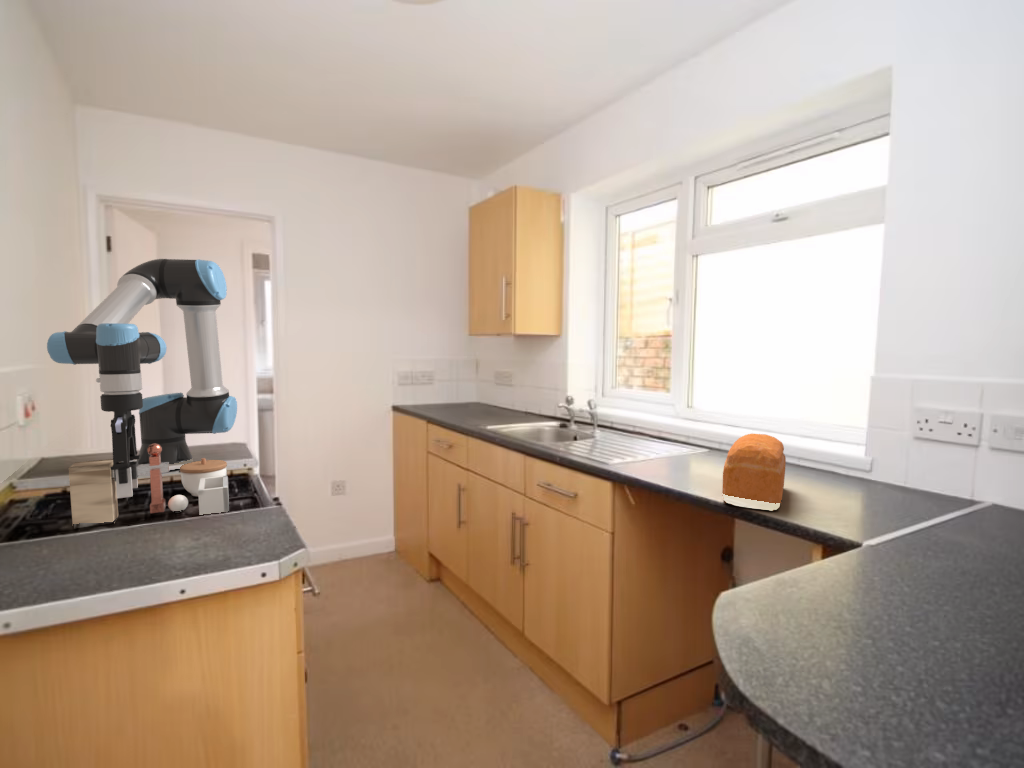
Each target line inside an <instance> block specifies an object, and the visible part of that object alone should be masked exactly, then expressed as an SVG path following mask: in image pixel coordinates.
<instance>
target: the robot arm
mask: <svg viewBox="0 0 1024 768" xmlns="http://www.w3.org/2000/svg"><path fill="white" fill-rule="evenodd" d="M116 286H117V287H116V288H114V290H112V291H111V293H110V294H109V295H108V296H106V298H105V299H103V300H102V302H100V303H99V304H98V305H97V306H96V307H95V308H94V309H93V310H92V311H91V312H90V313H89V314H88V315H87V316H86V317H85V318H84V319H83V320H82V321H81V322H80V323H79V324H78V325H77V326H76V327H74V328H73V330H72V331H66V330H63V331H57V332H54V333H51V334H50V336H49V338H48V340H47V343H46V349H47V350H46V351H47V353H48V355H49V358H50V359H51V360H52V361H53V362H54V363H57V364H62V365H63V364H64V365H65V364H66V365H68V364H69V365H73V366H74V365H98V374H99V377H97V378H96V379H95V382H96V383H100V384H99V390H100V392H101V393H103V394H101V395H100V409H101V411H103V412H106V413H108V412H110V413H111V412H113V417H112V419H110V429H111V441H112V443H111V445H112V459H113V467H111V470H115V472H116V487H117V499H123V498H131V497H132V498H133V495H134V494H133V489H138V488H139V487H138V486H139V485H138V483H139V482H138V478H137V479H133V480H132V475H131V467H130V462H134V461H138V465H141V464H150V460H149V457H150V456H151V455H150V454H149V453H148V452H147V448H148V447H149V446H150V445H151V444H159V445H160V446H161V447H162V451H161V453H160V456H161V463H162V462H169V464H174V463H179V462H183V461H187V460H190V459H192V458H193V459H194V457H193V455H192V453H191V450H190V448H189V445H188V443H187V441H186V435H199V434H212V435H213V434H221V433H222V434H224V433H228V432H229V431H230V430H232V428H233V427H234V424H235V422H236V418H237V414H238V413H237V412H238V401H237V398H236V397H235V396H232V395H230V392H229V389H228V388H227V387H225V386H224V384H223V375H222V365H221V364H222V363H221V355H220V354H221V352H220V343H219V342H220V341H219V332H218V322H217V321H218V320H217V319H218V318H217V312H216V311H217V310H218V309H219V308H220V307H221V305H222V304H221V301H222V300H225V299H226V297H227V290H228V288H227V287H228V286H227V280H226V278H225V275H224V272H223V270H222V269H221V267H220V265H219V264H217V263H216V262H215V261H212V260H205V259H182V258H181V259H178V258H177V259H175V258H171V259H170V258H157V259H152V260H151V259H150V260H148V261H145V262H142V263H140V264H139V265H138V264H137V265H136V266H134V267H133V268H131V269H130V270H128V271H127V272H126V273H124V274H122V276H121V277H120V278H119V279H118V280H117V283H116ZM160 299H170V300H171V299H175V303H176V306H177V307H178V308H179V309H180V310H182V313H183V321H184V331H185V339H186V341H185V342H186V350H187V359H188V369H189V378H190V387H191V388H190V389H189V390H188V391H187V392H186V396H185V395H184V393H183V392H172V393H166V394H161V395H159V394H158V395H153V396H148V397H144V398H143V394H142V393H141V392H140V391H141V390H143V382H142V371H141V365H142V364H147V365H148V364H149V365H151V364H153V363H156V362H159V361H161V360H162V359H163V358H164V357H165V355H166V353H167V344H166V342H165V340H164V339H163V338H162V337H161V336H160V335H158V334H156V333H154V332H153V333H152V332H148V331H145V332H144V331H143V332H139V328H138V326H137V325H136V324H134V323H130V322H132V320H133V319H134V317H136V315H137V314H138V313H140V311H141V310H142V309H143V307H144V306H147V305H149V304H153V302H154V301H155V300H160ZM137 410H138V415H139V428H140V438H141V439H140V443H141V446H140V449H139V452H138V450H137V449H138V448H137V438H136V427H135V426H136V416H135V414H132V411H137Z"/></svg>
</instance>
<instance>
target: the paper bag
mask: <svg viewBox="0 0 1024 768" xmlns="http://www.w3.org/2000/svg"><path fill="white" fill-rule="evenodd" d="M111 467H113V458H108V459H97V460H85V461H75V462H74V463H72V465H70V466H69V467H68V479H69V481H68V482H69V490H70V491H69V493H70V506H71V507H70V509H71V520H72V525H73V524H79V523H104V522H113V521H114V520H115V519H116V518H117V519H118V518H119V507H118V506H119V505H118V504H119V503H118V498H117V487H116V481H115V479H114V478H112V472H111ZM117 519H116V520H117Z"/></svg>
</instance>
